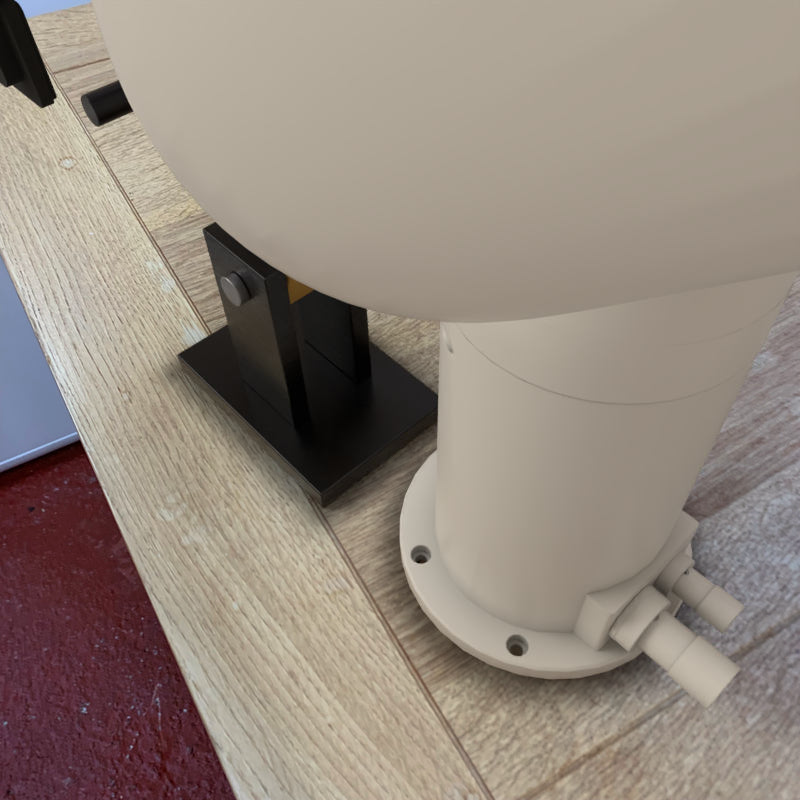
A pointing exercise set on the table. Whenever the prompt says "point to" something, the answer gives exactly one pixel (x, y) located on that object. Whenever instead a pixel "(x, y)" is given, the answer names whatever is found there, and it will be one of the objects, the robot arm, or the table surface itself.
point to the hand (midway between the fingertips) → (137, 51)
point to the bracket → (304, 376)
